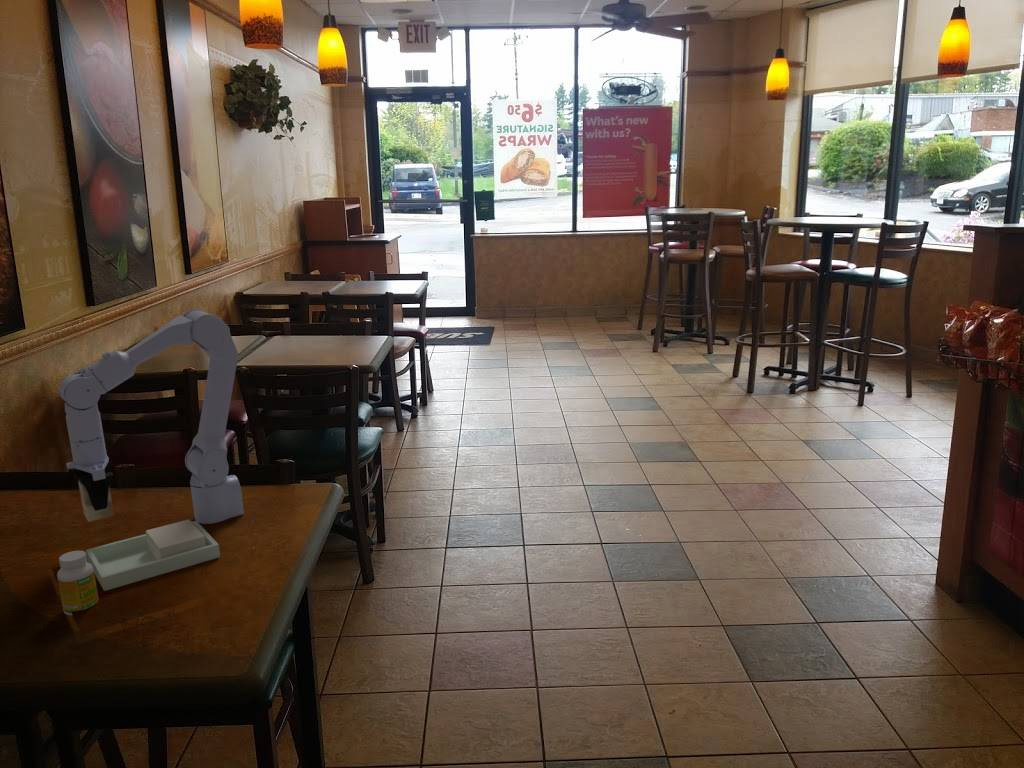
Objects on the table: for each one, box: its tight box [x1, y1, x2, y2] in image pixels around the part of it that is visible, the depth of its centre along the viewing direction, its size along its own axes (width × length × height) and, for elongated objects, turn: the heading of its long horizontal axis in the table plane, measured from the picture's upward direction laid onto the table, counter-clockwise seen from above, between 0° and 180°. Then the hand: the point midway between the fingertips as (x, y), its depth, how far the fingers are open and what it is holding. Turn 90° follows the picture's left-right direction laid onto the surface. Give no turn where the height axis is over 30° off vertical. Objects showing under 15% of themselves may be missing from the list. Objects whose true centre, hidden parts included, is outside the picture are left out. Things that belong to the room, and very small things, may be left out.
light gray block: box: [145, 519, 206, 560], centre depth 154 cm, size 8×10×4 cm
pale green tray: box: [85, 520, 221, 592], centre depth 152 cm, size 20×14×4 cm
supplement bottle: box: [56, 550, 99, 617], centre depth 136 cm, size 5×5×10 cm
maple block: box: [77, 479, 115, 523], centre depth 157 cm, size 4×4×7 cm
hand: (97, 504), depth 157 cm, fingers closed on maple block, 4 cm apart
